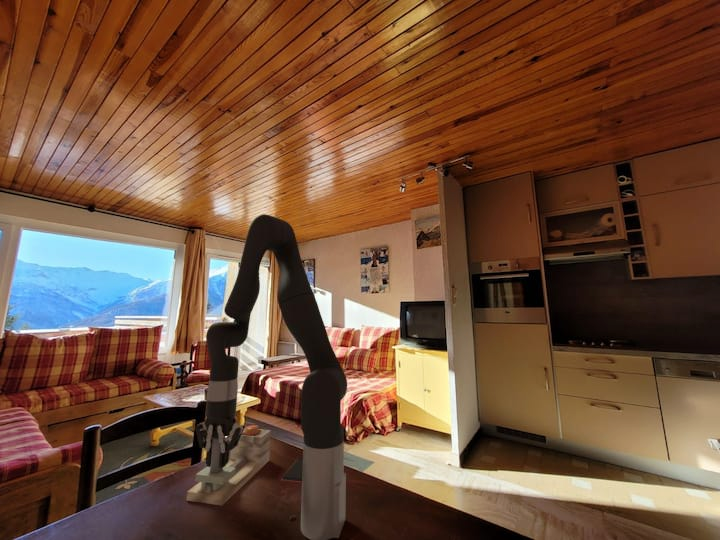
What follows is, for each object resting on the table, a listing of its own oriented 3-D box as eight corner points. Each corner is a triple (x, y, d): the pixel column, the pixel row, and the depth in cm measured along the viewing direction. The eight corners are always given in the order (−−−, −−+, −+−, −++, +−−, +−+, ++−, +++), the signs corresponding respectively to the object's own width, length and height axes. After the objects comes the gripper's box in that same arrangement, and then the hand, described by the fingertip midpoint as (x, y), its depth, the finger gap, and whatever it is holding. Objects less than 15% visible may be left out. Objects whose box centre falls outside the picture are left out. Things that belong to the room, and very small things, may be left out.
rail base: (269, 460, 92) (270, 430, 93) (222, 505, 69) (225, 464, 71) (240, 457, 94) (243, 427, 95) (186, 500, 71) (190, 460, 73)
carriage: (234, 480, 76) (238, 435, 78) (222, 491, 71) (226, 442, 73) (208, 477, 78) (212, 433, 79) (194, 487, 73) (199, 440, 75)
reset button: (260, 435, 93) (261, 425, 93) (253, 440, 89) (254, 430, 89) (249, 434, 93) (249, 424, 94) (242, 439, 89) (242, 429, 90)
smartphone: (319, 458, 93) (303, 482, 79) (319, 460, 93) (303, 484, 79) (298, 456, 94) (279, 479, 80) (298, 458, 94) (279, 481, 80)
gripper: (253, 394, 80) (249, 461, 77) (209, 391, 83) (203, 457, 80) (237, 401, 73) (231, 476, 70) (189, 398, 76) (182, 470, 73)
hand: (216, 465), depth 75 cm, fingers closed on carriage, 3 cm apart
